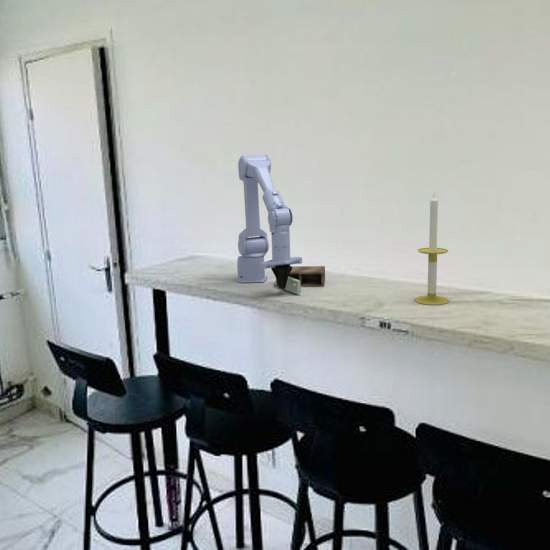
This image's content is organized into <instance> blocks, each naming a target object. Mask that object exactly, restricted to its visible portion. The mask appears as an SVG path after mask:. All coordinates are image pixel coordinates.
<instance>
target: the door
mask: <svg viewBox="0 0 550 550" xmlns="http://www.w3.org/2000/svg"><path fill="white" fill-rule="evenodd" d="M301 288H302V287H300V281H299V280H297V279H294V278H291V277H288V280H287V284H286V288H285V289H284V290H285V291H288V292H290V293H293V294H295V295H297V296H300V295H301V292H302V291H301Z"/></svg>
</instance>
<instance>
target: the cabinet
mask: <svg viewBox="0 0 550 550" xmlns="http://www.w3.org/2000/svg"><path fill="white" fill-rule="evenodd" d="M291 266H292V265H291ZM289 277H291V278H294V279H297V280H299V281H300V287H301V288H323V287H325V283H326V266H325V265H320V266H319V265H317V266H315V265H313V266H311V265H309V266H306V265H305V266H304V265H303V266H300V265H299V266H292V271H291V272H290V274H289ZM275 281H276V285H275V287H276V288H279V286H278V283H277V280H276V279H275Z"/></svg>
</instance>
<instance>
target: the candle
mask: <svg viewBox="0 0 550 550" xmlns="http://www.w3.org/2000/svg"><path fill="white" fill-rule="evenodd" d="M429 205H430V206H429V237H428V238H429V239H428V240H429V242H428V245H429V246H428V247H422V248H418V250H417V252H418V253H421V254H427V257H428V259H427V260H428V261H427V264H428V265H427V295H421V296H416V297H415V298H414V302H415V303H418V304H420V305H426V306H441V305H446V304H448V303H450V300H449V299H448V298H447V297H444V296H440V295H437V273H438V255H442V254H446V253H448V252H449V250H448V249H447V248H443V247H438V246H437V245H438V215H439V214H438V212H439V211H438V210H439V207H438V206H439V200H438V199H437V196H436V193H435V191H433V194H432V198H431V199H430V200H429Z"/></svg>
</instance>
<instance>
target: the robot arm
mask: <svg viewBox="0 0 550 550" xmlns="http://www.w3.org/2000/svg"><path fill="white" fill-rule="evenodd" d="M237 162H238V163H237V166H238V167H237V170H238V179H239V180H240V181H242V182H243V183H242V184H243V195H244V196H243V198H244V214H245V216H244V217H245V229H243V230H242V231H241V232H240V233H239V234H238V242H237V247H238V248H237V249H238V253H239V256H238V257H237V260H236V261H237V267H236V268H237V283H265V282H266V280H267V279H268V276H265V275H266V274H265V270H266V269H271V272H272V273H273V275H274V276H275V281H276V280H277V283H278V286H279V287H278V289H280V290H285V288H286V284H287V280H288V277H289V274H290V272H291V271H292V265H298V264H303V258H302V257H301V256H294V257H291V242H290V241H291V240H290V239H291V237H290V236H291V235H290V234H291V233H290V226H292V224H293V220H294V219H293V217H294V216H293V211H292V209H291V208H290V207H289V206H288V205H286V204H285V202H284V200H283V198H282V196H281V194H280V191H279V190H278V189H275V187H274V183H273V180H272V177H271V169H272V160H271V158H270V156H269V155H268V154H264V155H262V154H261V155H260V154H259V155H241V156H240V157H239V160H238V161H237ZM259 186H260V188H261V190H262V192H263V195H262V200H263V201H262V202H263V203H264V206H265V208H266V210H267V222H268V227H269V232H270V233H271V255H272V257H271V258H272V259H270V260H267V261H265V256H266V255H267V253H268V251H269V249H270V244H269V240H268V234H267V232H266V231H265V230H263V229H262V228H261V222H260V221H261V220H260V200H259Z"/></svg>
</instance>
